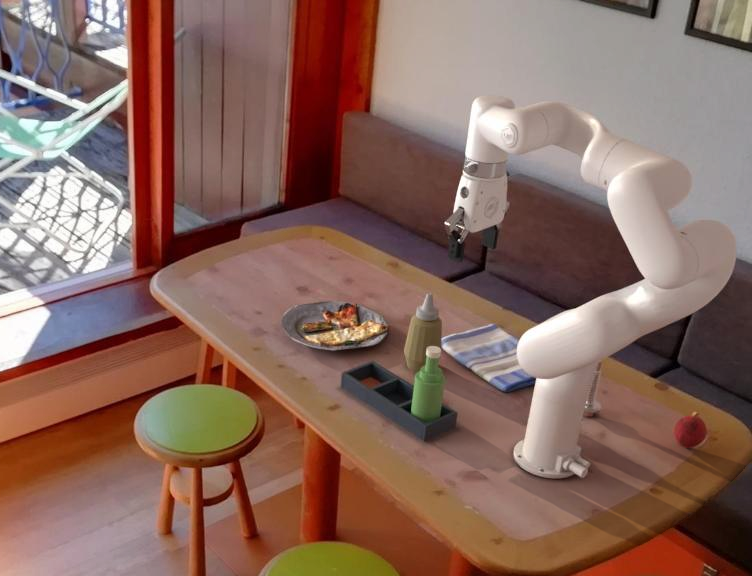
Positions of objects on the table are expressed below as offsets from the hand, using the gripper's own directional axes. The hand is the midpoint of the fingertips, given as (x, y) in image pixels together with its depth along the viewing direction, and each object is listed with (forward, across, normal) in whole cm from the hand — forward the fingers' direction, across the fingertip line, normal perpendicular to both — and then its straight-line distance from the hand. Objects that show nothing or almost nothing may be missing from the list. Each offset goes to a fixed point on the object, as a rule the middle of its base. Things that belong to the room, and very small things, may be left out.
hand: (471, 253), depth 199 cm
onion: (+35, +26, -38) cm, 58 cm away
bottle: (+34, -9, -1) cm, 36 cm away
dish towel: (+35, +23, +6) cm, 43 cm away
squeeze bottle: (+35, +8, +15) cm, 39 cm away
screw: (+35, +21, -19) cm, 45 cm away
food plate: (+35, +4, +38) cm, 52 cm away
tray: (+35, -9, +7) cm, 37 cm away
